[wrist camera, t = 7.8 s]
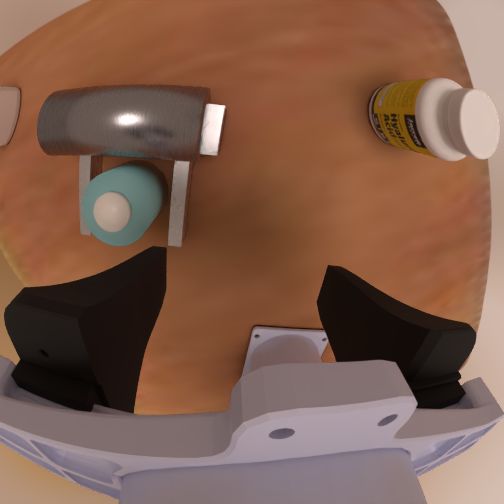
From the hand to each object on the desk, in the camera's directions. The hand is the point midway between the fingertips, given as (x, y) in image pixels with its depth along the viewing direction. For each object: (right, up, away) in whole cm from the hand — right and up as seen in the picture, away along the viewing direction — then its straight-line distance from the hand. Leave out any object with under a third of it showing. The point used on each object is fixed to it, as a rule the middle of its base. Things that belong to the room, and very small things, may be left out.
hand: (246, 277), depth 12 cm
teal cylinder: (-8, +6, +8) cm, 13 cm away
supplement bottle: (+12, +12, +6) cm, 18 cm away
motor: (-8, +8, +7) cm, 13 cm away
